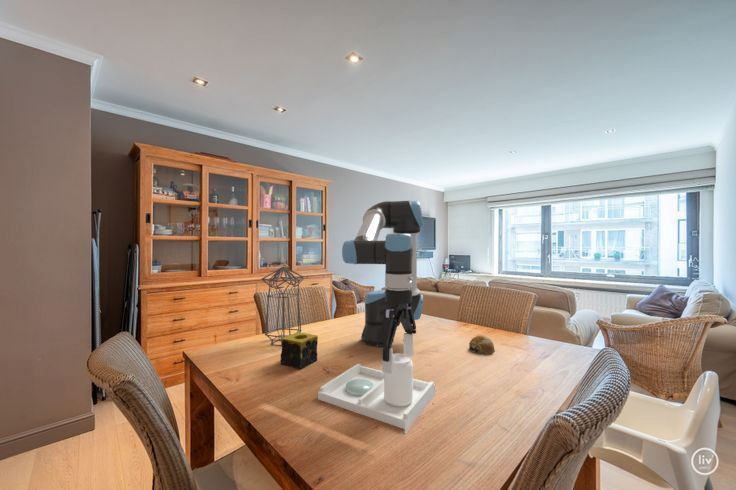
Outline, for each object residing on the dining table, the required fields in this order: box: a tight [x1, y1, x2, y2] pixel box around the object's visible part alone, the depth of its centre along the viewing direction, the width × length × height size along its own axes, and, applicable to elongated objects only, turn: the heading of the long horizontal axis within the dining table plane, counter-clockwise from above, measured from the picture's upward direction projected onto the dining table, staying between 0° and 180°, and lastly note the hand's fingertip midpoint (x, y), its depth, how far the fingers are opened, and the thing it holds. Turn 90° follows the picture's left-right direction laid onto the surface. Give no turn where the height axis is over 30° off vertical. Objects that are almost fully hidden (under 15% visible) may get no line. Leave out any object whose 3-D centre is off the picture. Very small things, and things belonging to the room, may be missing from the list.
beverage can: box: [384, 353, 414, 406], centre depth 85 cm, size 8×8×12 cm
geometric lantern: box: [260, 266, 306, 347], centre depth 139 cm, size 16×16×35 cm
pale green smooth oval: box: [346, 379, 373, 396], centre depth 92 cm, size 8×8×1 cm
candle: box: [279, 331, 319, 370], centre depth 115 cm, size 10×10×10 cm
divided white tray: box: [317, 363, 436, 435], centre depth 88 cm, size 27×22×4 cm
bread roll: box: [468, 335, 496, 355], centre depth 129 cm, size 10×10×8 cm
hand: (398, 363), depth 85 cm, fingers open, 13 cm apart
